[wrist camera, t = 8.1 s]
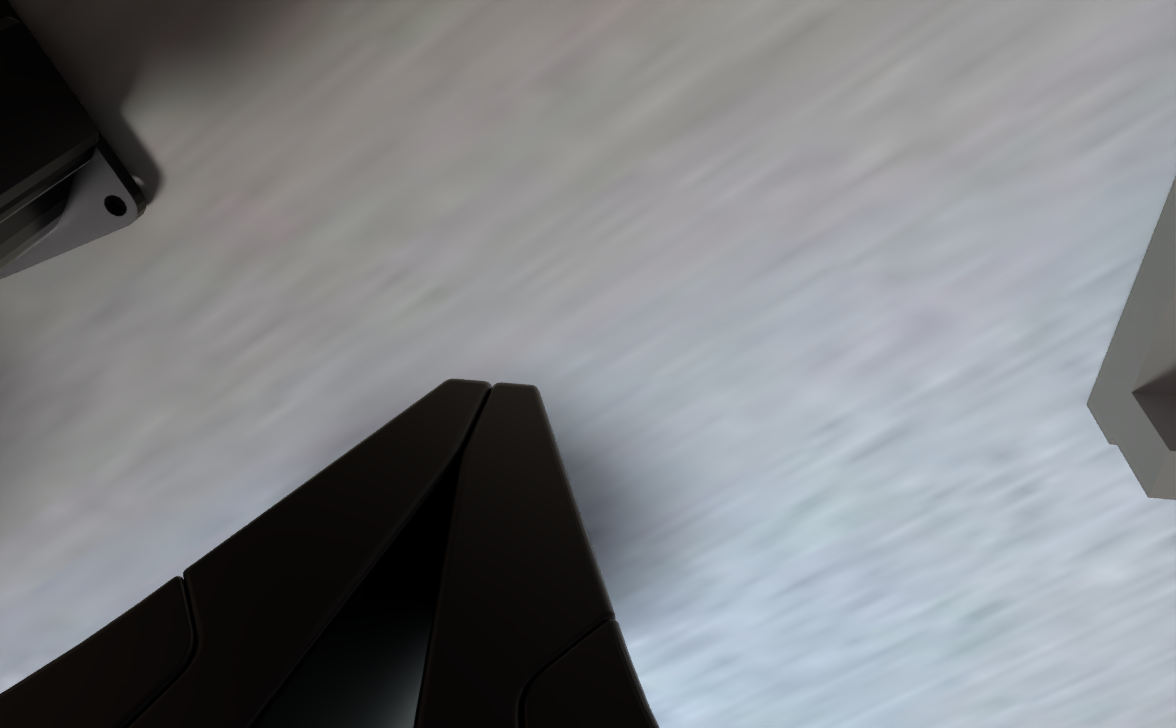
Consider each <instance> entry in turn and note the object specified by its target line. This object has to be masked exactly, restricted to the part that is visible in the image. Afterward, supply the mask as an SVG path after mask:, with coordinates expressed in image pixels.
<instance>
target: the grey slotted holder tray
mask: <svg viewBox="0 0 1176 728" xmlns="http://www.w3.org/2000/svg"><path fill="white" fill-rule="evenodd" d="M1087 406H1088V408H1089V410H1090V412H1091V413H1092V415H1093V417H1094V419H1095V420H1096V422H1097V424H1098V425H1099V427H1100V429H1101V431H1102V432H1103V434H1104V436H1105V437H1106V439H1107V441H1108V443H1109V444H1112V445H1117V446H1118V447H1119V449H1120V451H1121V452H1122V454H1123V456H1124V457H1125V459H1126V461H1127V463H1128V464H1129V466H1130V468H1131V469H1132V471H1133V473H1134V474H1135V476H1136V478H1137V479H1138V481H1139V483H1140V485H1141V486H1142V488H1143V490H1144V491H1145V493H1146V495H1147V496H1148V497H1149V498H1161V499H1173V500H1176V177H1175V180H1174V182H1173V185H1172V187H1171V190H1170V192H1169V195H1168V197H1167V200H1166V203H1165V205H1164V208H1163V210H1162V213H1161V215H1160V218H1159V220H1158V223H1157V226H1156V228H1155V231H1154V233H1153V236H1152V238H1151V241H1150V244H1149V246H1148V249H1147V251H1146V254H1145V256H1144V259H1143V261H1142V264H1141V267H1140V269H1139V272H1138V274H1137V277H1136V279H1135V282H1134V284H1133V287H1132V290H1131V292H1130V295H1129V297H1128V300H1127V302H1126V305H1125V308H1124V310H1123V313H1122V315H1121V318H1120V320H1119V323H1118V325H1117V328H1116V331H1115V333H1114V336H1113V338H1112V341H1111V343H1110V346H1109V348H1108V351H1107V354H1106V356H1105V359H1104V361H1103V364H1102V366H1101V369H1100V371H1099V374H1098V377H1097V379H1096V382H1095V384H1094V387H1093V389H1092V392H1091V395H1090V397H1089V400H1088V402H1087Z"/></svg>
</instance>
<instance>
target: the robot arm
mask: <svg viewBox="0 0 1176 728" xmlns="http://www.w3.org/2000/svg"><path fill="white" fill-rule="evenodd" d="M113 195H115V196H117V197H120V198H121V199H122V200H123V201H124V202H125V204H126V207H127V209H125V208H122V207H120V206H119V205H118V204H117V203H116V202H115V200H114V198H113ZM145 209H146V199H145V197H144V195H143V193H142V191H141V190H140V188H139V187H138V185H137V184H136V183H135V181H134V180H133V178H132V177H131V175H130V174H129V173H128V171H127V170H126V168H125V167H124V166H123V164H122V163H121V161H120V160H119V158H118V157H117V156H116V154H115V153H114V151H113V150H112V148H111V147H110V146H109V144H108V143H107V141H106V140H105V138H104V137H103V136H102V134H101V133H100V131H99V130H98V128H97V126H96V124H95V123H94V122H93V120H92V119H91V117H90V116H89V115H88V113H87V112H86V110H85V109H84V107H83V106H82V105H81V103H80V102H79V100H78V99H77V97H76V96H75V95H74V93H73V92H72V90H71V89H70V87H69V86H68V85H67V83H66V82H65V80H64V79H63V78H62V76H61V75H60V73H59V72H58V70H57V69H56V68H55V66H54V65H53V63H52V62H51V60H50V59H49V58H48V56H47V55H46V53H45V52H44V50H43V49H42V48H41V46H40V45H39V43H38V42H37V41H36V39H35V38H34V36H33V35H32V33H31V32H30V31H29V29H28V28H27V26H26V25H25V24H24V23H23V22H22V20H21V19H20V18H19V16H18V15H17V13H16V12H15V10H14V9H13V8H12V6H11V5H10V3H9V2H8V1H7V0H0V279H2V278H5V277H7V276H9V275H12V274H14V273H17V272H19V271H21V270H24V269H26V268H28V267H31V266H33V265H36V264H38V263H40V262H43V261H45V260H47V259H50V258H52V257H55V256H57V255H59V254H62V253H64V252H66V251H69V250H71V249H74V248H76V247H78V246H81V245H83V244H86V243H88V242H90V241H93V240H95V239H97V238H100V237H102V236H105V235H107V234H109V233H112V232H114V231H116V230H119V229H121V228H124V227H126V226H128V225H130V224H131V223H133V222H134V221H135V220H136V219H138V218H139V217H140V216H141V215H142V214H144V211H145ZM183 578H184V579H183ZM183 578H182V577H180V576H176V577H174V578H173V579H171V580H170V581H168V582H167V583H166V584H164V585H163V586H161V587H160V588H159V589H157V590H156V591H155V592H153V593H152V594H150V595H149V596H148V597H146V598H145V599H144V600H142V601H141V602H139V603H138V604H137V605H135V606H134V607H132V608H131V609H129V610H128V611H126V612H125V613H124V614H122V615H121V616H119V617H118V618H116V619H115V620H113V621H112V622H110V623H109V624H108V625H106V626H105V627H103V628H102V629H100V630H99V631H97V632H96V633H95V634H93V635H92V636H90V637H89V638H87V639H86V640H84V641H83V642H82V643H80V644H78V645H77V646H75V647H74V648H72V649H71V650H69V651H67V652H66V653H64V654H63V655H61V656H60V657H58V658H56V659H55V660H53V661H52V662H50V663H49V664H47V665H45V666H44V667H42V668H41V669H39V670H37V671H36V672H34V673H33V674H31V675H30V676H28V677H26V678H25V679H23V680H22V681H20V682H19V683H17V684H15V685H14V686H12V687H11V688H9V689H7V690H6V691H4V692H2V693H1V694H0V728H659V726H658V723H657V721H656V719H655V717H654V715H653V713H652V711H651V709H650V707H649V704H648V702H647V699H646V697H645V694H644V691H643V689H642V686H641V684H640V681H639V679H638V676H637V673H636V671H635V668H634V666H633V663H632V661H631V658H630V655H629V653H628V650H627V647H626V644H625V641H624V638H623V635H622V632H621V629H620V626H619V624H618V622H617V621H616V620H615V613H614V610H613V607H612V604H611V601H610V598H609V595H608V592H607V589H606V587H605V584H604V581H603V578H602V575H601V572H600V569H599V566H598V563H597V560H596V557H595V554H594V551H593V548H592V545H591V542H590V539H589V537H588V534H587V531H586V528H585V525H584V522H583V519H582V516H581V513H580V510H579V507H578V504H577V501H576V498H575V495H574V492H573V489H572V486H571V484H570V481H569V478H568V475H567V472H566V469H565V466H564V463H563V460H562V457H561V454H560V451H559V448H558V445H557V442H556V439H555V436H554V433H553V431H552V428H551V425H550V422H549V419H548V416H547V413H546V410H545V407H544V404H543V401H542V398H541V395H540V392H539V390H538V389H537V387H535V386H533V385H525V384H512V383H497V384H495V385H494V386H493V387H492V386H491V384H490V383H488V382H486V381H476V380H464V379H449V380H447V381H445V382H443V383H442V384H440V385H439V386H438V387H436V388H435V389H434V390H432V391H431V392H429V393H428V394H427V395H425V396H424V397H423V398H421V399H420V400H418V401H417V402H416V403H414V404H413V405H412V406H410V407H409V408H407V409H406V410H405V411H403V412H402V413H401V414H399V415H398V416H396V417H395V418H394V419H392V420H391V421H389V422H388V423H387V424H385V425H384V426H383V427H381V428H380V429H378V430H377V431H376V432H374V433H373V434H372V435H370V436H369V437H367V438H366V439H365V440H363V441H362V442H361V443H359V444H358V445H356V446H355V447H354V448H352V449H351V450H350V451H348V452H347V453H345V454H344V455H343V456H341V457H340V458H338V459H337V460H336V461H334V462H333V463H332V464H330V465H329V466H327V467H326V468H325V469H323V470H322V471H321V472H319V473H318V474H316V475H315V476H314V477H312V478H311V479H310V480H308V481H307V482H305V483H304V484H303V485H301V486H300V487H299V488H297V489H296V490H294V491H293V492H292V493H290V494H289V495H287V496H286V497H285V498H283V499H282V500H281V501H279V502H278V503H276V504H275V505H274V506H272V507H271V508H270V509H268V510H267V511H265V512H264V513H263V514H261V515H260V516H259V517H257V518H256V519H254V520H253V521H252V522H250V523H249V524H248V525H246V526H245V527H243V528H242V529H241V530H239V531H238V532H236V533H235V534H234V535H232V536H231V537H230V538H228V539H227V540H225V541H224V542H223V543H221V544H220V545H219V546H217V547H216V548H214V549H213V550H212V551H210V552H209V553H208V554H206V555H205V556H203V557H202V558H201V559H199V560H198V561H197V562H195V563H194V564H192V565H191V566H190V567H188V568H187V569H186V570H185V571H184V572H183Z"/></svg>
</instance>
